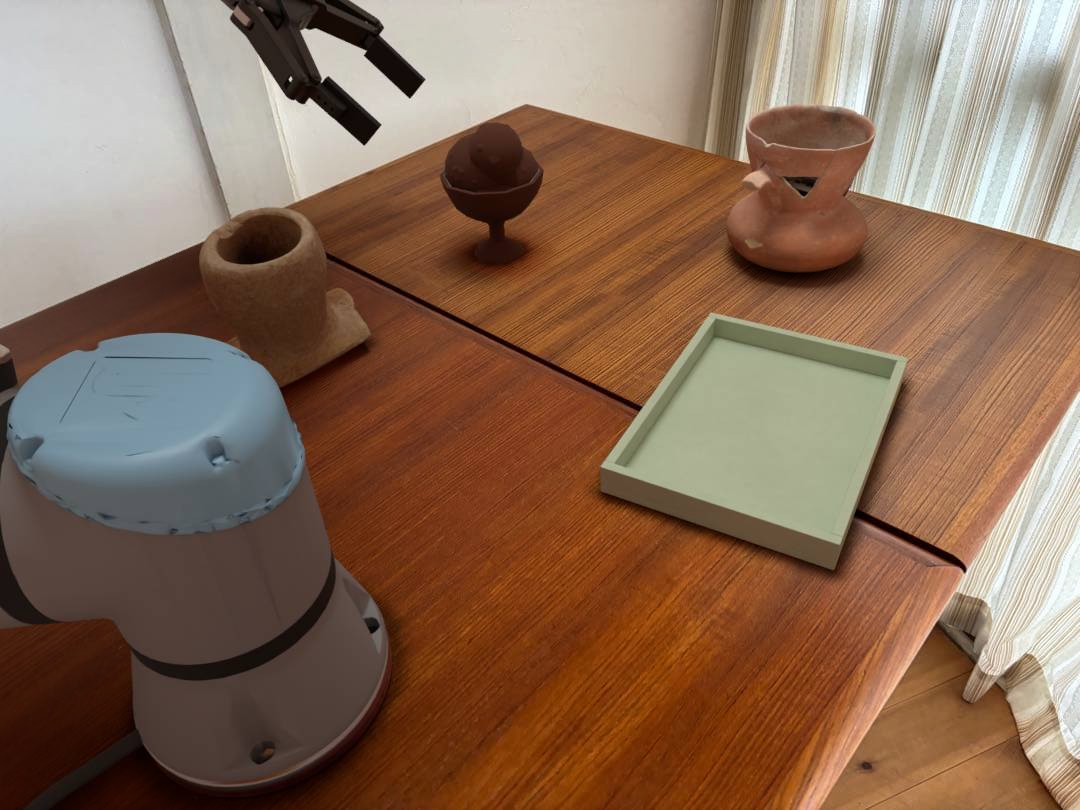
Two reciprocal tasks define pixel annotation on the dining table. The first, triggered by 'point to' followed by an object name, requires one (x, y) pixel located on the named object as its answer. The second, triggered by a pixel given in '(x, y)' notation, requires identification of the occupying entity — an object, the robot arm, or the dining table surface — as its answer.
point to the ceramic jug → (801, 188)
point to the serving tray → (760, 436)
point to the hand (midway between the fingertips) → (397, 111)
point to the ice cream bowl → (492, 185)
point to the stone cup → (278, 293)
